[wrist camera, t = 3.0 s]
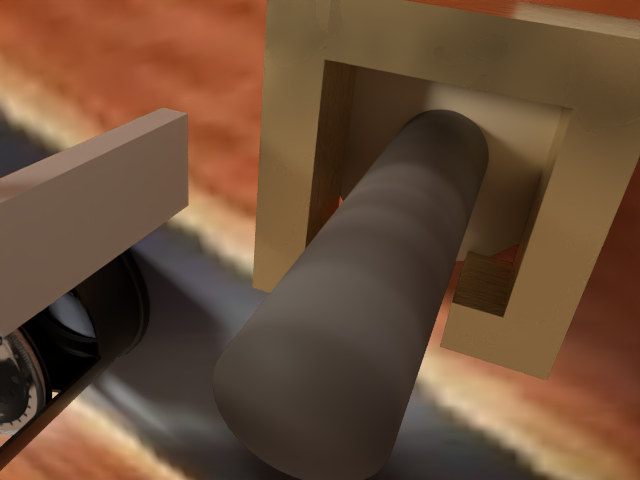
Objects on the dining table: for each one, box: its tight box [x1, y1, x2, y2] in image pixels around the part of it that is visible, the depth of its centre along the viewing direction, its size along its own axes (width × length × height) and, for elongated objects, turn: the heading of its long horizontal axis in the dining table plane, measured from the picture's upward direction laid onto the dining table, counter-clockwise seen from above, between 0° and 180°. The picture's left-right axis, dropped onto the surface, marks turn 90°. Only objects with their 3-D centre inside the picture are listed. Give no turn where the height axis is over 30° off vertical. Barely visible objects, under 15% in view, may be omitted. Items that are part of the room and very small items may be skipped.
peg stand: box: [213, 66, 564, 480], centre depth 14 cm, size 7×7×13 cm
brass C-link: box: [253, 0, 640, 380], centre depth 16 cm, size 9×9×3 cm
